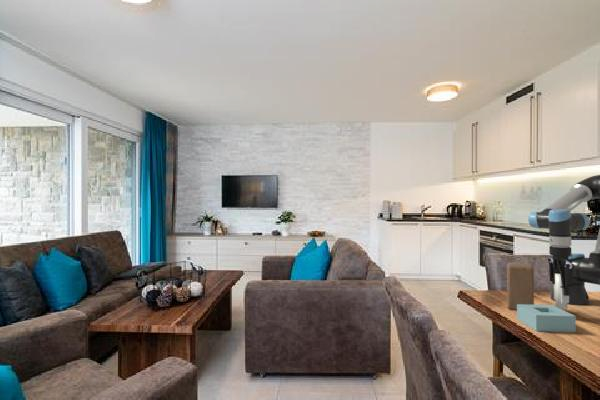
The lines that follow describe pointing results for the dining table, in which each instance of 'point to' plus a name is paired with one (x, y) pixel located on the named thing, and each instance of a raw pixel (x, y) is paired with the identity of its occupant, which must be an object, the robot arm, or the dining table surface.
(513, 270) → the wooden block
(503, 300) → the dining table surface
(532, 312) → the socket
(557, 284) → the peg
